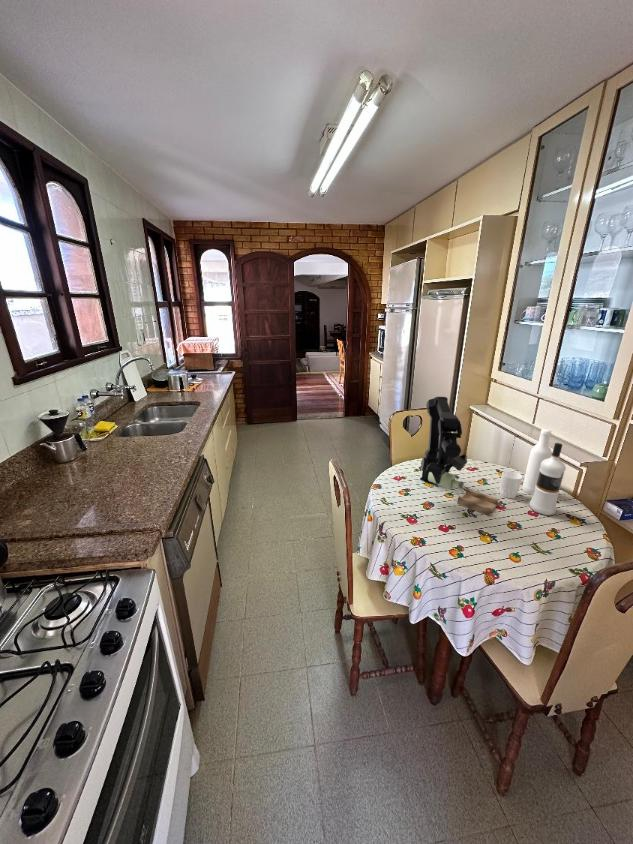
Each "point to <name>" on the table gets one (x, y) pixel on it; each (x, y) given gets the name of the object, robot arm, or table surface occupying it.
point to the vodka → (548, 483)
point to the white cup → (510, 484)
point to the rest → (478, 502)
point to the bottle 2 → (536, 461)
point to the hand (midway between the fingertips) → (441, 481)
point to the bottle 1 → (446, 480)
